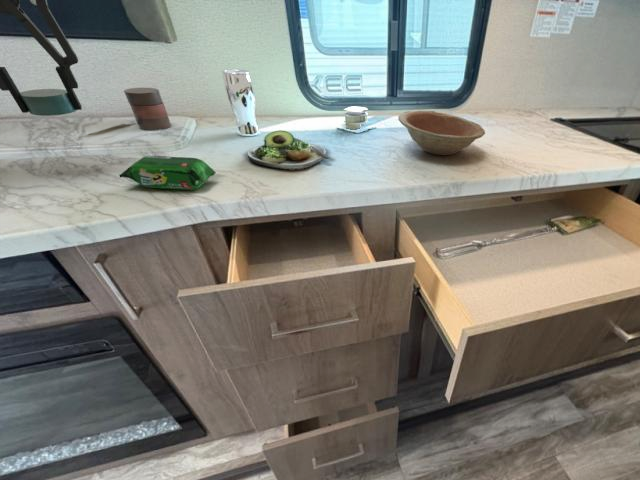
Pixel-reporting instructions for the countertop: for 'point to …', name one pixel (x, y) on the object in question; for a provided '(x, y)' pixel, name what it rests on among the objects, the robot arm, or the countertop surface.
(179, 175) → the snack package
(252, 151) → the salad plate
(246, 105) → the beer glass
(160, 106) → the brown striped cylinder
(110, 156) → the countertop surface
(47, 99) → the teal short cylinder
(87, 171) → the countertop surface
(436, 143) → the bowl
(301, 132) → the countertop surface
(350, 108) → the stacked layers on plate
